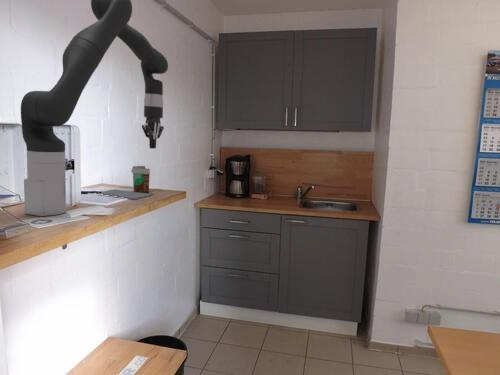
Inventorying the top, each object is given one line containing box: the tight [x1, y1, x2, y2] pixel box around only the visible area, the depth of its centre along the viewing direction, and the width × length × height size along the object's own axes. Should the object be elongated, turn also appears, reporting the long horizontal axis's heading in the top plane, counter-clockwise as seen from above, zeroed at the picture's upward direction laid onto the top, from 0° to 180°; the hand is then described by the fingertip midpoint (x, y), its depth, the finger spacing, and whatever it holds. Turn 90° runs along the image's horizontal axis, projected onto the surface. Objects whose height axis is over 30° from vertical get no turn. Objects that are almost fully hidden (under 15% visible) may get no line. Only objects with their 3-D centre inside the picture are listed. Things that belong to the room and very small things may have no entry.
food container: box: [131, 165, 151, 194], centre depth 143 cm, size 12×6×10 cm, turn 25°
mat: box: [95, 188, 154, 201], centre depth 135 cm, size 12×18×1 cm, turn 72°
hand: (152, 148), depth 150 cm, fingers closed
